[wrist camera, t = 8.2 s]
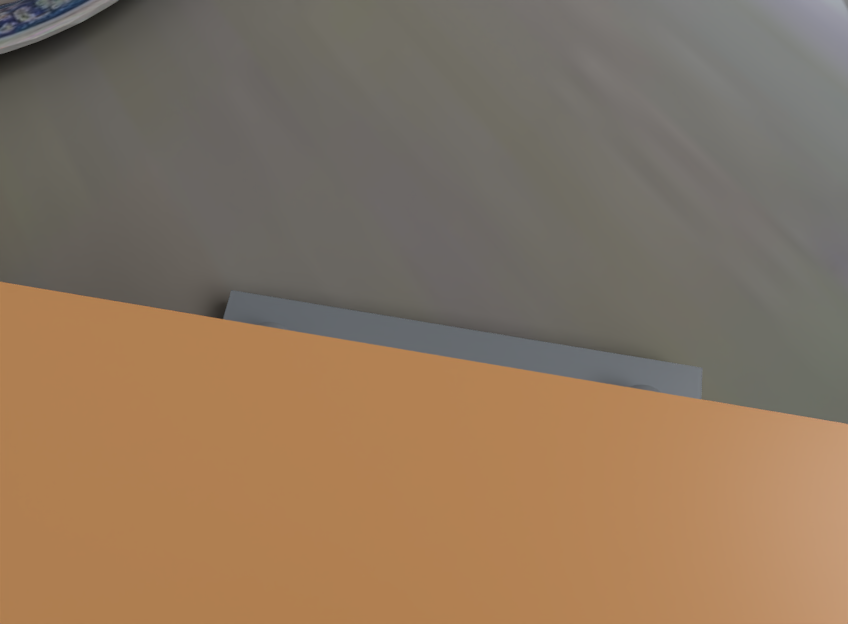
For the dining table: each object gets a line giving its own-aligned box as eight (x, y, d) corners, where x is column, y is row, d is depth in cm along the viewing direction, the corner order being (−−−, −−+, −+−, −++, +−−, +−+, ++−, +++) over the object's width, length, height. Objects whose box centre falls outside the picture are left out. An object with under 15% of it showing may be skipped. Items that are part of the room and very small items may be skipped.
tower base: (662, 964, 16) (734, 1108, 12) (89, 825, 17) (-15, 915, 13) (688, 376, 21) (745, 342, 17) (241, 301, 22) (199, 254, 18)
